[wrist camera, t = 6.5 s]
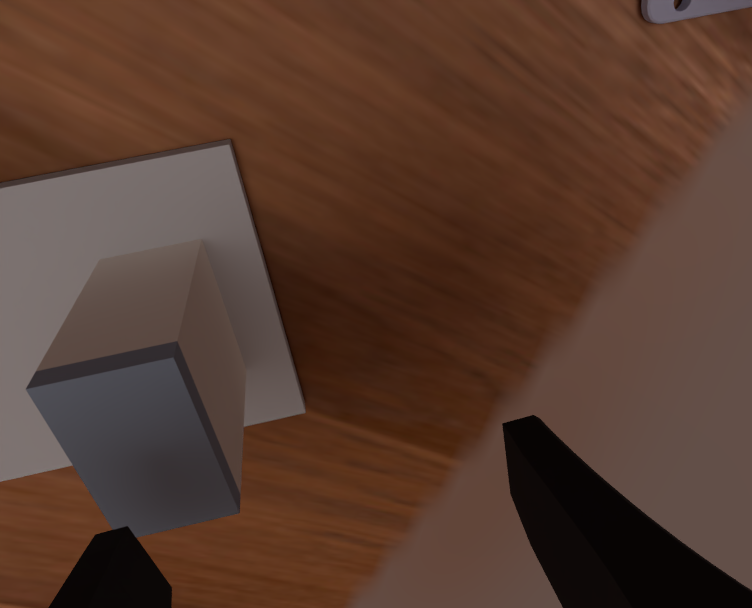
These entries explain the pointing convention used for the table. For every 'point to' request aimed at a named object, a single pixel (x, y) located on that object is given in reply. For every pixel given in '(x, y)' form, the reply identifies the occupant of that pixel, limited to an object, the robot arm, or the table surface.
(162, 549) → the table surface
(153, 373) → the beige rectangular block
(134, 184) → the mat
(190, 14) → the table surface
